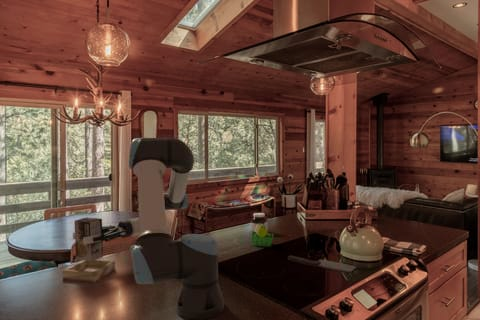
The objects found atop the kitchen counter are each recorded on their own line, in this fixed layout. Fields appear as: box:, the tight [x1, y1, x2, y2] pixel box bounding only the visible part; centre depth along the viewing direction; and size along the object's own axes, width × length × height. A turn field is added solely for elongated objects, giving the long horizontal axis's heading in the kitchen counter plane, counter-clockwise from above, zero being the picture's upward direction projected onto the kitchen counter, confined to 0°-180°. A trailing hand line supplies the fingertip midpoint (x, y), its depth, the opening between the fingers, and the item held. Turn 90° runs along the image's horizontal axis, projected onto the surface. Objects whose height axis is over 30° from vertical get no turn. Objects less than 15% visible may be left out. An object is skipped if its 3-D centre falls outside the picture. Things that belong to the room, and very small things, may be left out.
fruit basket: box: [250, 225, 274, 247], centre depth 175 cm, size 11×9×11 cm
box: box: [62, 259, 116, 283], centre depth 137 cm, size 14×14×4 cm
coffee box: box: [73, 217, 104, 261], centre depth 137 cm, size 9×6×16 cm
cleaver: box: [287, 254, 357, 273], centre depth 146 cm, size 30×10×2 cm, turn 60°
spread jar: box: [250, 212, 269, 234], centre depth 197 cm, size 12×11×12 cm
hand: (78, 238), depth 134 cm, fingers closed on coffee box, 10 cm apart
